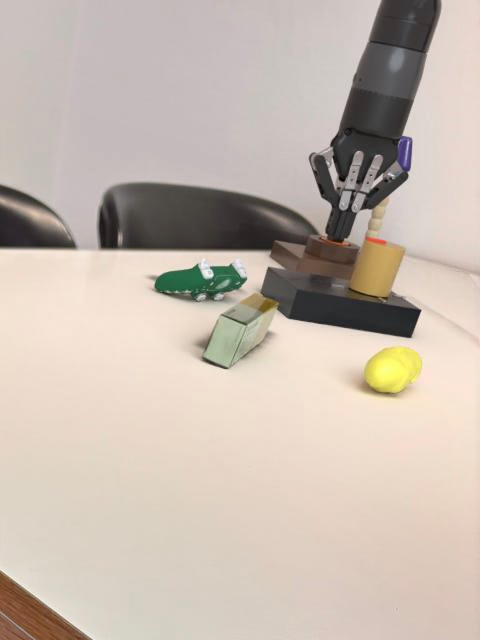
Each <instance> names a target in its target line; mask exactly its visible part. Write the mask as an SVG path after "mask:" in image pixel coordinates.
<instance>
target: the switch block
mask: <svg viewBox="0 0 480 640" xmlns="http://www.w3.org/2000/svg"><path fill="white" fill-rule="evenodd" d="M321 237H327V235H321V234H310V235H309V236H308V238H307V240H306V244H298V243H294V242H293V243H292V242H286V241H282V240H274V241H273V243H272V247H271V250H270V254H269V258H271V260H273V261H275V262H276V263H277V264H279V265H280V266H281V267H283V269H286V270H292V271H298V272H304V273H310V274H316V275H321V276H327V277H333V278H339V279H345V280H351V277H352V275H353V272H354V269H355V266H356V263H357V260H358V257H359V255H358V254H359V252H360V251H361V248H362V246H359V245H358V244H356V243H353V242H351V241H348V240H345V239H344V241H345V242H347V243H349V246H342V245H337V244H333V243H329V242H325V241H323V240H321Z"/></svg>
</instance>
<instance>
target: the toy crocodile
mask: <svg viewBox="0 0 480 640" xmlns="http://www.w3.org/2000/svg"><path fill="white" fill-rule="evenodd" d="M247 280H248V273H247V270H246V269H245V265H244V264H243V262H242V261H241V259H240V258H238V257H237V258H235V259H234V261H233V262H231V263H229V265H216V266H215V265H210V263H209V261H208V259H207V258H206V257H203V258H201V260H200V262H198V263H197V264H195V265H194V266H192V267H191V268H187V269H177V270H170V271H166V272H163V273H162V274H160V275H158V277H157V278H156V279H155V282H154V284H153V288H154V290H156V291H157V290H159V291H162V292H165V293H164V294H169V293H170V294H169V295H190V297H192V298H193V299H195V301H197V302H199V301H198V300H201V301H203V300H206V298H207V295H208V296H209V297H210V298H211V299H213V300H214V301H215V300H217V301H220V300H222V299H223V298H224V296H225V295H224V294H225V293H231V292H233V291H235V290H239V289H241V288H242V287H243V285H244V284H245V283H246V282H247ZM159 291H158V292H159ZM162 292H161V293H162Z"/></svg>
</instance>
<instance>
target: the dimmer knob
mask: <svg viewBox="0 0 480 640" xmlns="http://www.w3.org/2000/svg"><path fill="white" fill-rule="evenodd" d="M362 244H363V245H362ZM362 244H361V248H360V251H359V252H360V254H359V257H358V260H357V263H356V266H355V269H354V272H353V275H352V277H351V280H350V283H349V287H350V288H351V289H353V290H355V291H357V292H360V293H363V294H367V295H371V296H376V297H389V295H390V292H391V291H393V290H392V289H393V287H394V284H395V281H396V278H397V276H398V273H399V270H400V267H401V265H402V262H403V258H404V257H405V253H406V251H407V248H406V247H405V246H403V245H400V244H397V243H395V242H390V241H387V240H385V239H380V238H377V239H375V238H370V237H366V239H365V238H364V239H363V242H362Z"/></svg>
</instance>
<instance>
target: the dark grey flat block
mask: <svg viewBox="0 0 480 640" xmlns="http://www.w3.org/2000/svg"><path fill="white" fill-rule="evenodd" d="M349 283H350V280H345V279H339V278H333V277H327V276H321V275H316V274H310V273H304V272H298V271H292V270H287V269H285V268H280V267H279V268H278V267H273V266H267V268H266V272H265V275H264V279H263V282H262V286H261V289H260V292H259V293H260V294H259V295H261V296H262V295H263V296H264V297H266V298H268V299H271V300H273V301H275V302H278V303H279V304H278V307H277V309H276V310H278V311H279V312H281V313H282V314H283V315H284V317H286V318H287V319H289V320H297V321H302V322H308V323H309V322H310V323H315V324H322V325H328V326H333V327H340V328H345V329H346V328H347V329H351V330H352V329H353V330H357V331H358V330H359V331H364V332H365V331H367V332H371V333H378V334H384V335H389V336H390V335H391V336H396V337H403V338H408V339H412V338H413V335H414V332H415V330H416V327H417V323H418V321H419V319H420V316H421V313H422V309H421V308H420V307H418V306H416V305H415V304H413V303H412V302H410V301H409V300H407V299H406V298H407V297H406V296H405V295H400V294H397V293H396V292H394V291H393V290H391V292H390V295H389V297H376V296H371V295H367V294H363V293H360V292H357V291H355V290H353V289H351V288H350V287H349Z"/></svg>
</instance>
